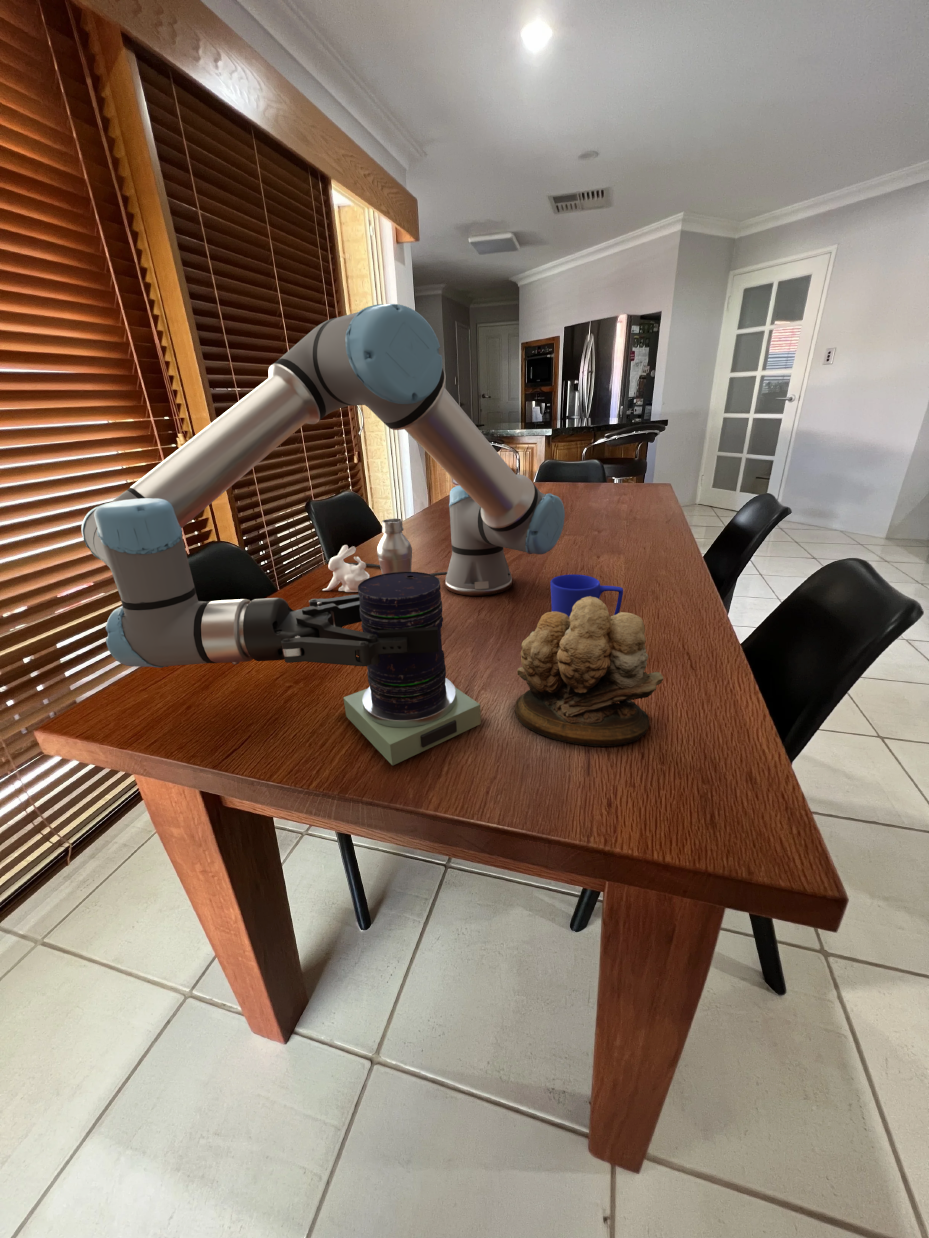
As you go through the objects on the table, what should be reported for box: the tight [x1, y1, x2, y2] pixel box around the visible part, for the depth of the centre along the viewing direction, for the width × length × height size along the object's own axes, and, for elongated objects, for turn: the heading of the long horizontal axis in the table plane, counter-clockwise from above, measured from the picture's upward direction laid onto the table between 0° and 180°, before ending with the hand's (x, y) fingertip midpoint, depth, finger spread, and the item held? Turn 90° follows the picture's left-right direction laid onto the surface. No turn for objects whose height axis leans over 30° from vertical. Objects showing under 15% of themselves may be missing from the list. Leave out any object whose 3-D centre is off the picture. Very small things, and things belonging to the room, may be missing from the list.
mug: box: [550, 574, 624, 619], centre depth 86 cm, size 8×12×10 cm
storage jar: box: [357, 571, 447, 715], centre depth 61 cm, size 10×10×15 cm
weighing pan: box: [363, 677, 456, 728], centre depth 64 cm, size 12×12×1 cm
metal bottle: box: [376, 518, 413, 574], centre depth 91 cm, size 6×7×20 cm
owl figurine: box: [514, 596, 664, 747], centre depth 61 cm, size 18×12×17 cm, turn 72°
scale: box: [342, 687, 482, 766], centre depth 65 cm, size 13×13×3 cm
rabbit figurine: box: [322, 544, 371, 593], centre depth 115 cm, size 12×8×10 cm, turn 73°
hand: (438, 620), depth 60 cm, fingers closed on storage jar, 10 cm apart
